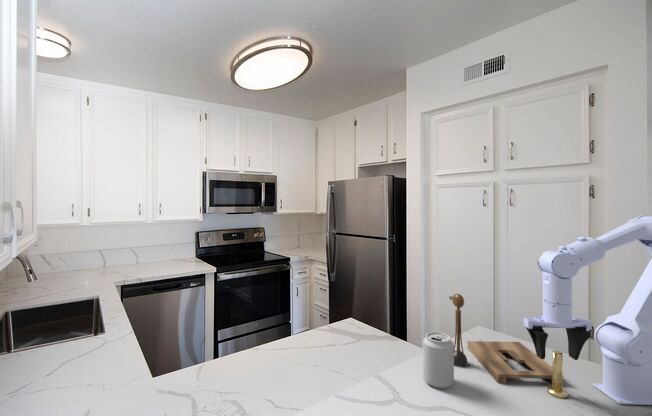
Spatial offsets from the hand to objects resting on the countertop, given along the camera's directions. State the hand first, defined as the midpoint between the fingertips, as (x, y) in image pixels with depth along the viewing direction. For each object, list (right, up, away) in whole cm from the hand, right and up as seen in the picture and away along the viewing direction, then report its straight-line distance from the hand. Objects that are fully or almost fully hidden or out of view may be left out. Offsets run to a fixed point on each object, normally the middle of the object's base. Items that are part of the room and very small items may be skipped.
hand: (557, 357), depth 77 cm
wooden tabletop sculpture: (-18, -9, +16) cm, 25 cm away
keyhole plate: (-3, -9, +14) cm, 17 cm away
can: (-27, -9, +5) cm, 29 cm away
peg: (0, -9, 0) cm, 9 cm away
